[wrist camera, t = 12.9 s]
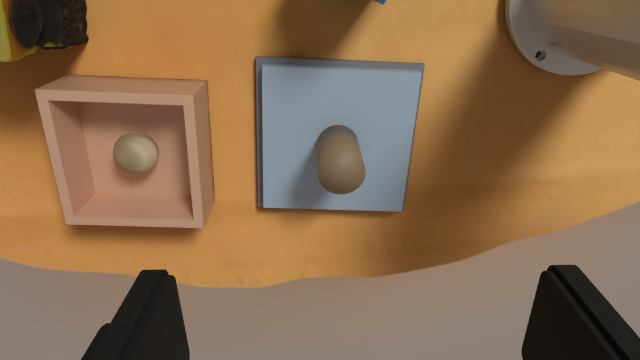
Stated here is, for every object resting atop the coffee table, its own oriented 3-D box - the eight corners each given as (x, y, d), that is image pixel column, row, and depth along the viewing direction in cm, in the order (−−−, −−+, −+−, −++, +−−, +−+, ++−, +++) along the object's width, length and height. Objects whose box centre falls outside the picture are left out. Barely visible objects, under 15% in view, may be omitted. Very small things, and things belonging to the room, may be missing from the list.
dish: (207, 80, 37) (193, 95, 33) (215, 200, 42) (203, 228, 38) (68, 74, 37) (34, 89, 32) (92, 196, 42) (66, 224, 37)
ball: (161, 126, 38) (148, 141, 35) (166, 164, 40) (153, 181, 37) (119, 125, 38) (102, 139, 35) (125, 163, 40) (109, 180, 36)
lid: (418, 70, 37) (441, 91, 30) (399, 206, 42) (415, 247, 36) (263, 63, 36) (253, 83, 30) (264, 202, 42) (256, 243, 36)
